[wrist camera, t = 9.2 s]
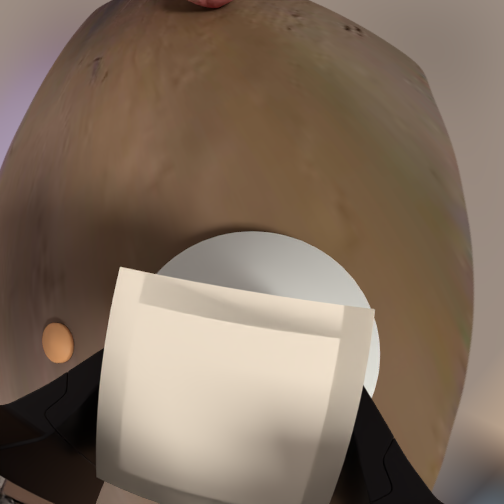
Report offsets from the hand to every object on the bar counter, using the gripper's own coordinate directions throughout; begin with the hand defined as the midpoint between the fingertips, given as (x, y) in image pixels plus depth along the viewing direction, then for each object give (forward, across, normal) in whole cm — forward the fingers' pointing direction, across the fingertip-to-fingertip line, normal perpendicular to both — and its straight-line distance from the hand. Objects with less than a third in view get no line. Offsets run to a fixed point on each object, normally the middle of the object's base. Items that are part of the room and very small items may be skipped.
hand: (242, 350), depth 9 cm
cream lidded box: (+4, 0, +6) cm, 7 cm away
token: (+4, +15, +10) cm, 18 cm away
